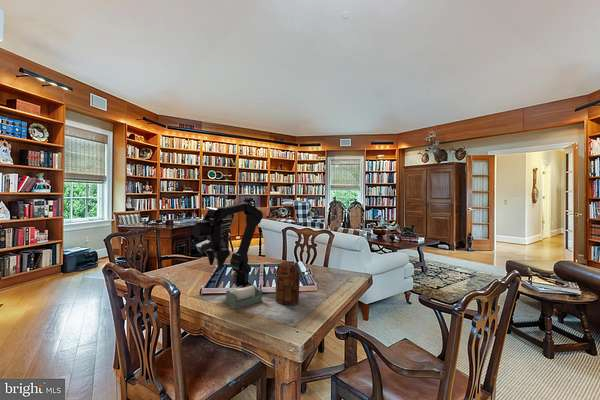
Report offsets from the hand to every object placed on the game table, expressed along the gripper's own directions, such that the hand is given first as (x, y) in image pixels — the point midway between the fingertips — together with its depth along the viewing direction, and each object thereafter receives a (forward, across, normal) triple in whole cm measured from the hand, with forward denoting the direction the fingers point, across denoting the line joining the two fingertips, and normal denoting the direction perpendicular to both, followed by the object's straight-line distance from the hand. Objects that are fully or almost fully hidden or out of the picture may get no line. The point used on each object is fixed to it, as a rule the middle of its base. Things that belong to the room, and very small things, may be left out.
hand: (215, 267), depth 134 cm
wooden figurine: (+12, +28, +21) cm, 37 cm away
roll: (+11, +17, +6) cm, 21 cm away
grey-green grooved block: (+12, +17, +6) cm, 22 cm away
